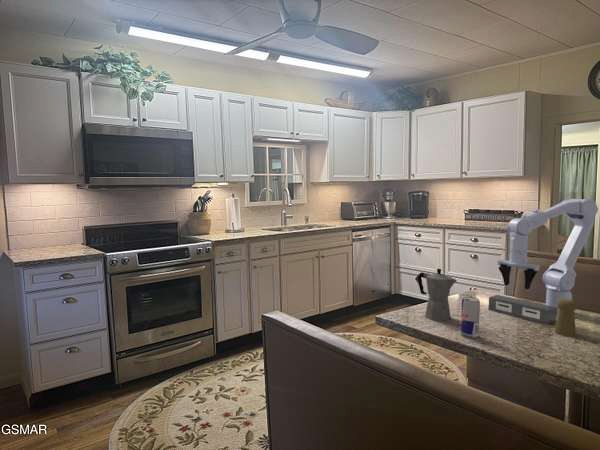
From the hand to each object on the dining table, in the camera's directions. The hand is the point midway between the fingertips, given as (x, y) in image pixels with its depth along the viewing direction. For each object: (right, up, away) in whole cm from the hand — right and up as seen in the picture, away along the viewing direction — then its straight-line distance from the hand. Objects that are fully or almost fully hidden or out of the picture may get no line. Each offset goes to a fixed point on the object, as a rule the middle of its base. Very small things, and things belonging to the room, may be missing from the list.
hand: (516, 286), depth 156 cm
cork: (+5, -12, -20) cm, 24 cm away
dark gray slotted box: (+1, -11, -1) cm, 11 cm away
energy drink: (-27, -13, -22) cm, 37 cm away
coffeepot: (-31, -11, -2) cm, 33 cm away
